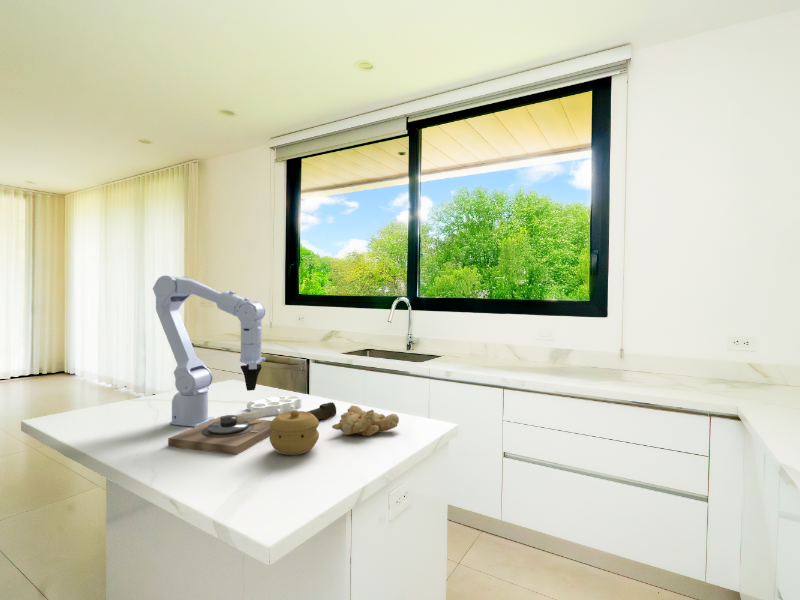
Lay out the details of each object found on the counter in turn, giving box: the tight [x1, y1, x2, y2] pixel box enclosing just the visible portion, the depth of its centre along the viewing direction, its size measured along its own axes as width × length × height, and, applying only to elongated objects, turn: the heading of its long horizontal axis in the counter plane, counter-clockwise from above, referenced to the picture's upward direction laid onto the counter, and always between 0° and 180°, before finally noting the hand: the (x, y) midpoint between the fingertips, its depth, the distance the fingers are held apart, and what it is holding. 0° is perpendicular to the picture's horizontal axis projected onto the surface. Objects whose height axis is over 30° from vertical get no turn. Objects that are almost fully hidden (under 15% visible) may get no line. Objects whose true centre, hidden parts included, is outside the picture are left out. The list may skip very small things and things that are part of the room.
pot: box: [268, 409, 320, 456], centre depth 102 cm, size 12×12×10 cm
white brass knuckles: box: [246, 395, 303, 418], centre depth 139 cm, size 3×18×15 cm
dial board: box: [167, 415, 272, 456], centre depth 112 cm, size 20×20×2 cm
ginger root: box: [331, 405, 400, 437], centre depth 117 cm, size 16×16×8 cm
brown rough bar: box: [306, 401, 337, 421], centre depth 125 cm, size 19×4×5 cm, turn 139°
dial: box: [208, 410, 262, 435], centre depth 113 cm, size 14×10×3 cm
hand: (250, 389), depth 122 cm, fingers closed
